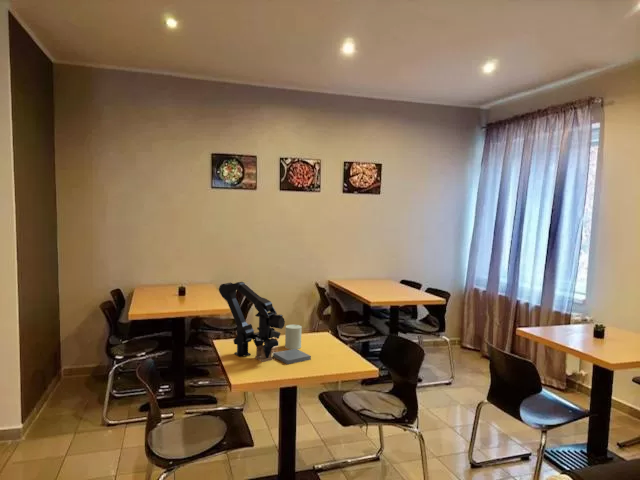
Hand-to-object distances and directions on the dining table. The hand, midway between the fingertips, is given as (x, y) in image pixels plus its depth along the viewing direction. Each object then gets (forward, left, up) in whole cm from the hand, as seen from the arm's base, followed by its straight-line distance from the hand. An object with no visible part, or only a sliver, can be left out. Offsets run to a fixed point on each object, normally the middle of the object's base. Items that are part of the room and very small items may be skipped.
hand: (263, 356), depth 231 cm
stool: (0, 0, -2) cm, 2 cm away
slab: (+6, +13, -2) cm, 14 cm away
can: (-10, +24, -2) cm, 26 cm away
